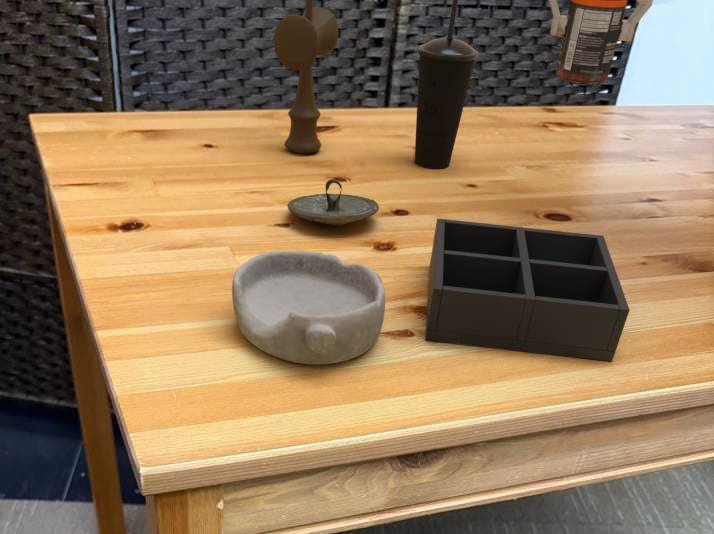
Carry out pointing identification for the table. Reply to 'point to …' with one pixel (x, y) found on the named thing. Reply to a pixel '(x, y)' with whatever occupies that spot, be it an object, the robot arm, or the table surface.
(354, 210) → the lid
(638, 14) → the robot arm
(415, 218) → the table surface
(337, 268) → the dish
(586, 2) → the supplement bottle
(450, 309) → the compartment organizer box
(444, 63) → the drinking cup
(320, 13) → the kendama
